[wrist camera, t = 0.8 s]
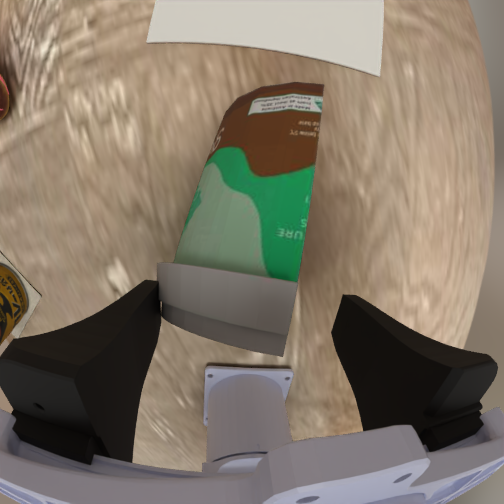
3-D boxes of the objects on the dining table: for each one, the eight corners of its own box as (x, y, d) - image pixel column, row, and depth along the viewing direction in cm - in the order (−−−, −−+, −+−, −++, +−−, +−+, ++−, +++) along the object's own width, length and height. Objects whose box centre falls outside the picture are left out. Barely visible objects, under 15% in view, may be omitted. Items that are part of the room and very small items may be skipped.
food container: (169, 53, 10) (84, 306, 8) (327, 59, 9) (282, 361, 7) (225, 173, 22) (195, 308, 20) (308, 185, 21) (283, 326, 19)
